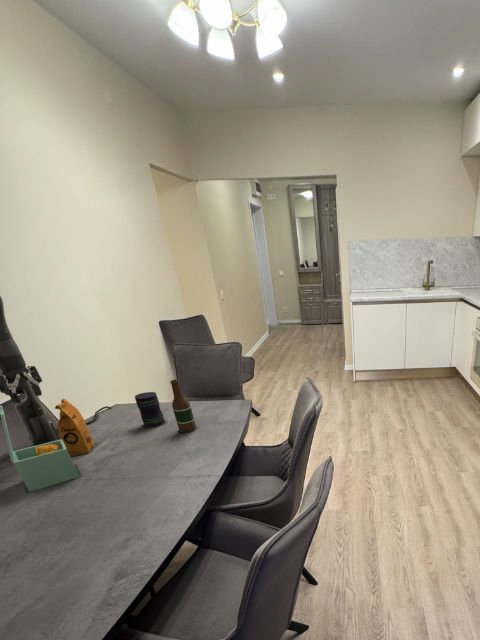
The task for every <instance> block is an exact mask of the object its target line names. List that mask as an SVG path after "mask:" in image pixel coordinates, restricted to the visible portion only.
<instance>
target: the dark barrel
mask: <svg viewBox="0 0 480 640" xmlns="http://www.w3.org/2000/svg"><path fill="white" fill-rule="evenodd" d="M134 400H135V402H136V407H137V408H138V410H139V413H140V417H141V421H142V423H143V426H144V427H145V428H156V427H159V426H162V425H164V424H165V423H166V422H165V417H164V414H163V411H162V409H161V407H160V401H159V397H158V395H157V392H155V391H148V392H147V391H145V392H142V393H137V394H136V395H134Z"/></svg>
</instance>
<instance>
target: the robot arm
mask: <svg viewBox="0 0 480 640" xmlns="http://www.w3.org/2000/svg"><path fill="white" fill-rule="evenodd" d="M4 306H5V305H4V300H3V298H2V296H1V295H0V393H1V394H4V395H5V396H9V398H10V399H11V402H13V403H14V410H15V411H16V413H17V416H18V417H19V419H20V422H21V423H22V425H23V427H24V429H25V431H26V433H27V435H28V439H29V441H31V443H32V445H33V446H37V445H41V444H45V443H49V442H53V441H57V440H61V437H60V435H59V433H58V427H55V426H54V423H53V422H52V421H50V420H49V417H48V415H47V413H46V411H45V409H44V407H43V405H42V402H41V400H40V397H41V396H42V395H43V394H42V393H43V392H42V389H41V387H40V383H42V382H43V379H42V377H41V375H40V373H39V371H38V369H37V367H36V366H35V365H27V363H26V361H25V359H24V357H23V354H22V352H21V350H20V348H19V345H18V344H17V342H16V340H15V339H14V337H13V335H12V332H11V330H10V328H9V326H8V323H7V320H6V315H5V307H4ZM19 395H25V396H26V397H25V398H24V399H22V400H21V399H20V396H19ZM105 409H108V410H109V409H112V407H111V406H107V405H106V406H102V407H101V408H99V409H98V410H97V411H95V412H94V418H92V419H91V420H89V421H87V422H86V421H85V423H86V425H87V426H88V425H89V424H92V423H93V422H95V421H96V420H97V419H98V418H99V415H98V414H99V413H100V412H101V411H103V410H105Z"/></svg>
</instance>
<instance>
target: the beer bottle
mask: <svg viewBox="0 0 480 640" xmlns="http://www.w3.org/2000/svg"><path fill="white" fill-rule="evenodd" d="M169 383H170V384H171V389H172V394H173V400H172V404H171V407H172V411H173V415H174V417H175V421H176V425H177V427H178V431H180V432H182V433H189V432H193V431H195V430H196V428H197V425H196V420H195V417H194V414H193V410H192V406H191V403H190V402H189V400H188V398H186V397H185V396H184V394H183V391H182V388H181V386H180V381H179V379H171V380H170V381H169Z"/></svg>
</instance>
